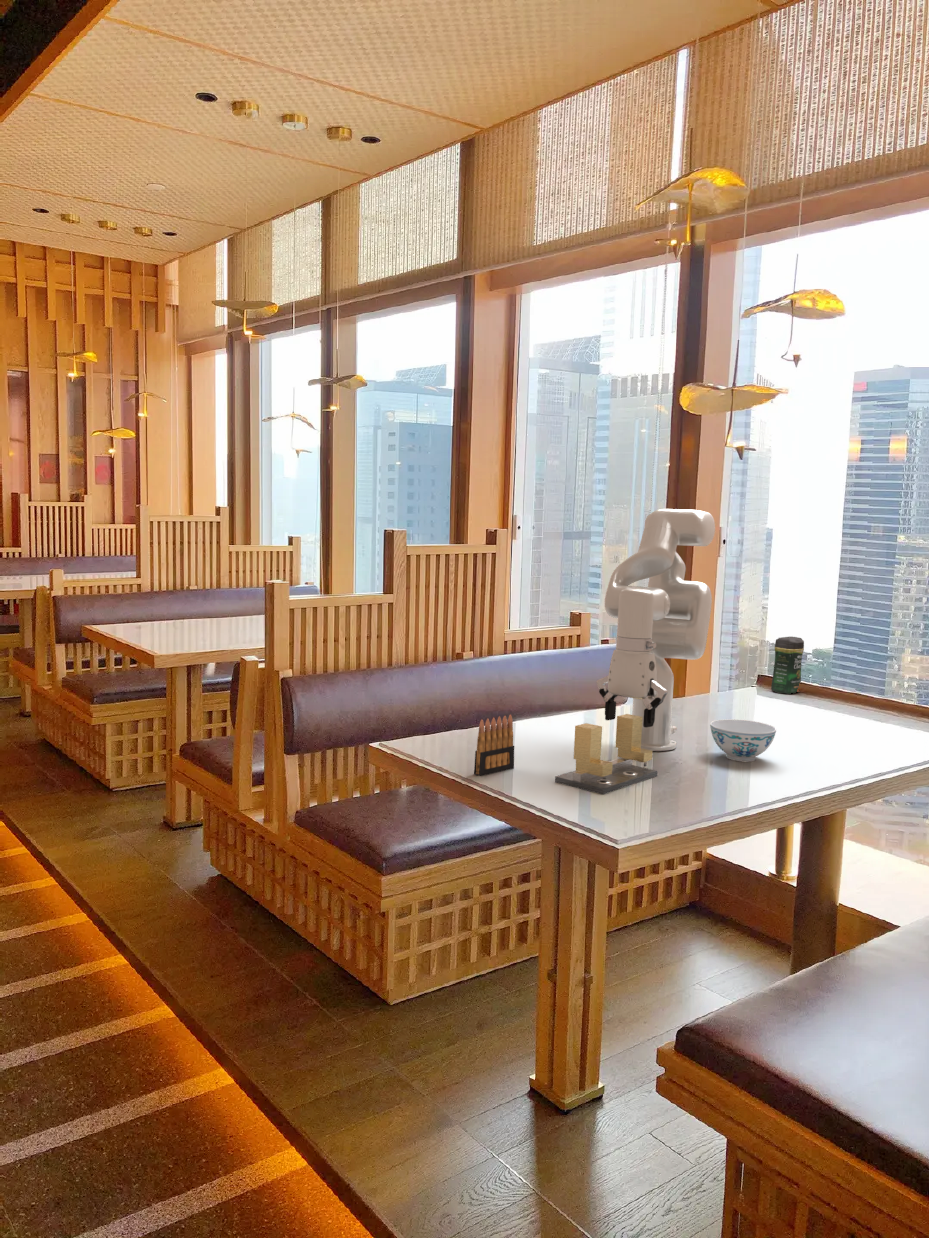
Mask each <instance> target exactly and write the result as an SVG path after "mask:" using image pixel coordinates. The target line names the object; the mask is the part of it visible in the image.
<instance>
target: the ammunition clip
mask: <svg viewBox="0 0 929 1238" xmlns="http://www.w3.org/2000/svg"><path fill="white" fill-rule="evenodd" d="M513 723H514V722H513V716H512V714H509V716H508V718H507V716H506V715H504V716H503V717H502V718H501V716H500V715H499V716H498V717H497V720H496V719H495V717H494V716H493V717H492V719H491V722H490V719H489V717H487V718H486V720H485V722H484V720H483V719H482V718H481V719H480V721H479V726H478V735H477V740H476V741H477V743H476V750H475V754H474V766H473V769H474V770H473V775H474V776H478V777H483V776H487V775H492V774H495V773H499V772H500V773H501V772H505V771H509V770H514V769H515V745H514V728H513V727H514V726H513Z"/></svg>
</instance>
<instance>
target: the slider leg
mask: <svg viewBox="0 0 929 1238" xmlns="http://www.w3.org/2000/svg"><path fill="white" fill-rule="evenodd" d="M642 719H643V717H641V716H636V715H632V714H629V713H625V714H621V715H620V714H619V715H617V716H616V732H615V733H616V734H615V735H616V736H615V748H617V757H618V758H626V759H630V760H633V761H634V762H635V761H636V762H640V763H643V767H647V765H648V764H647V763H648V762H650V761H652V760H653V755H654V754H653V752H654V751H651V750H647V749H642V748H641V736H642Z"/></svg>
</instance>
